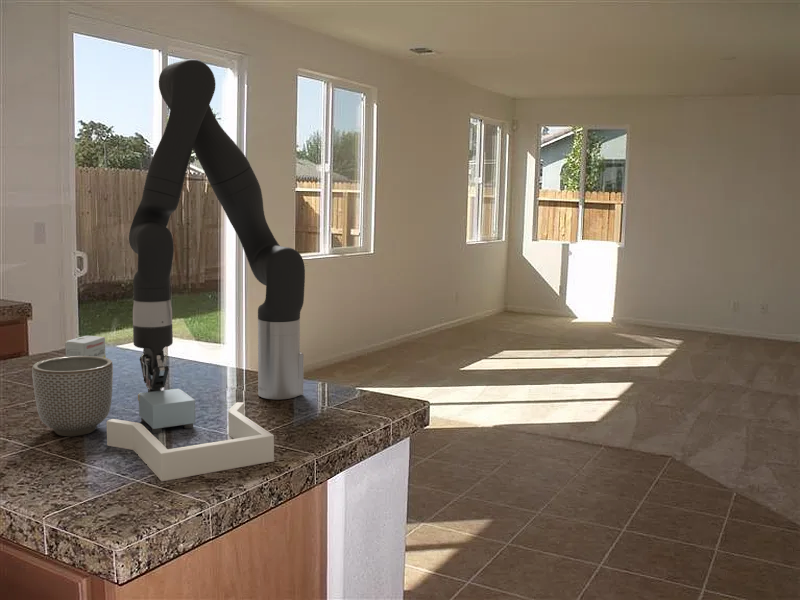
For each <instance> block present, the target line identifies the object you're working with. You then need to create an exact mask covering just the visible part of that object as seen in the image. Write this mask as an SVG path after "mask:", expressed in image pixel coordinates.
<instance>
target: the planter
mask: <svg viewBox="0 0 800 600" xmlns="http://www.w3.org/2000/svg"><path fill="white" fill-rule="evenodd" d="M31 368H32V369H31V371H32V372H31V373H32V374H31V376H32V377H31V378H32V382H33V383H32V385H33V392H34V393H33V394H34V399H35V400H34V401H35V405H36V410H37V415H38V416H39V419H40V421H41V422H42V423H43V424H44V425H46V426H47V427H49V428H51V429H52V430H53V431H54V433H55V434H56V435H58V436H61V437H78V436H79V437H80V436H84V435H87V434H91V433H93V432H95V431H96V429H97V427H98V425H100V424H101V423H103V422H104V421H105V420H106V418H108V415H109V413H110V411H111V406H112V398H113V397H112V396H113V383H114V381H113V380H114V379H113V378H114V376H113V375H114V366H113V360H112V359H110V358H108V357H106V358H104V357H98V356H68V357H66V356H60V357H59V356H58V357H53V358H48V359H44V360H43V359H42V360H40V361H38V362H36V363H34V364H33V365H32V367H31Z"/></svg>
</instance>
